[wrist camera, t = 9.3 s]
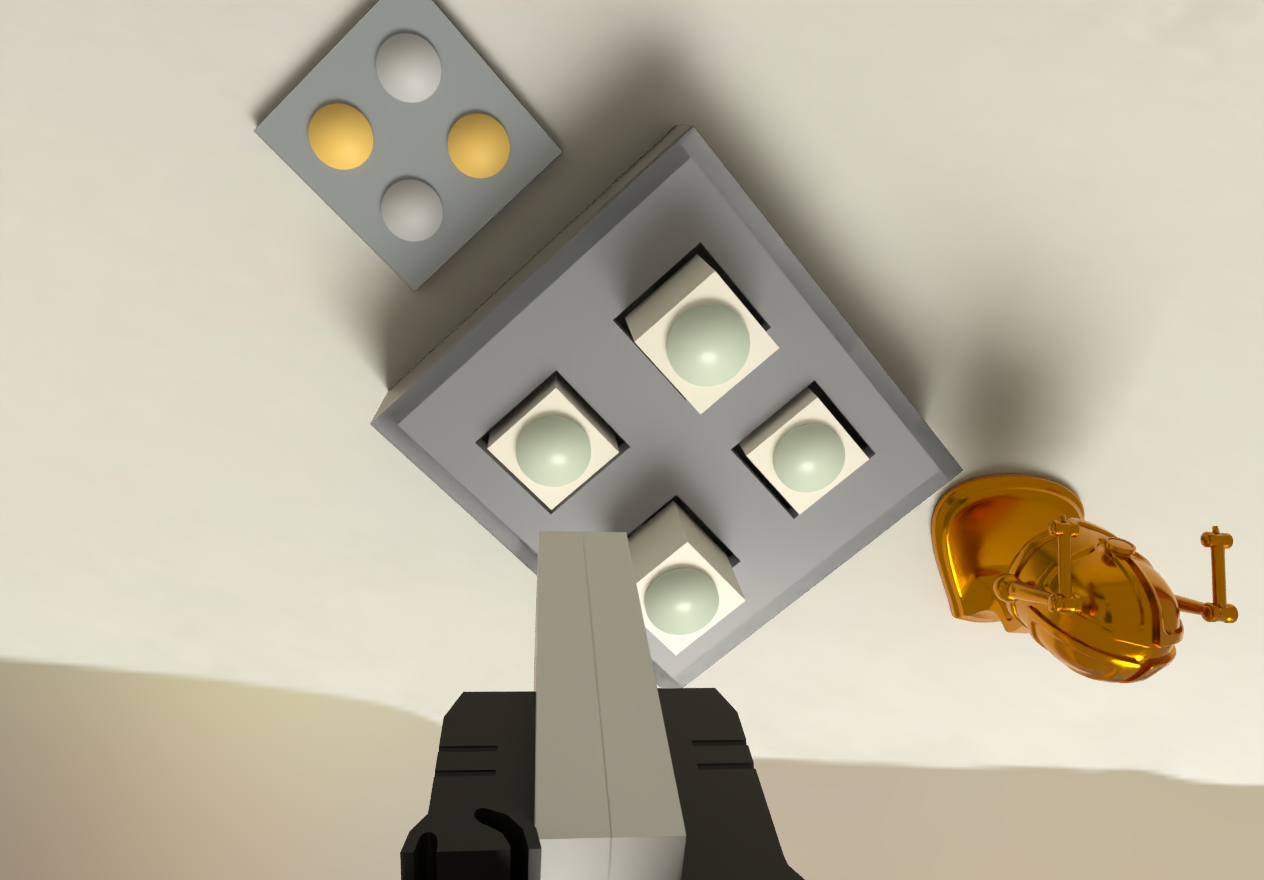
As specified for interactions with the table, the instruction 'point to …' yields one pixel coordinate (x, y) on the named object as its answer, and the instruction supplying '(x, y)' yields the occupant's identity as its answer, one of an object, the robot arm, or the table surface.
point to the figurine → (1063, 577)
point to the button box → (669, 396)
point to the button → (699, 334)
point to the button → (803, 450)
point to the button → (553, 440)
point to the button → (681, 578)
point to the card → (408, 136)
